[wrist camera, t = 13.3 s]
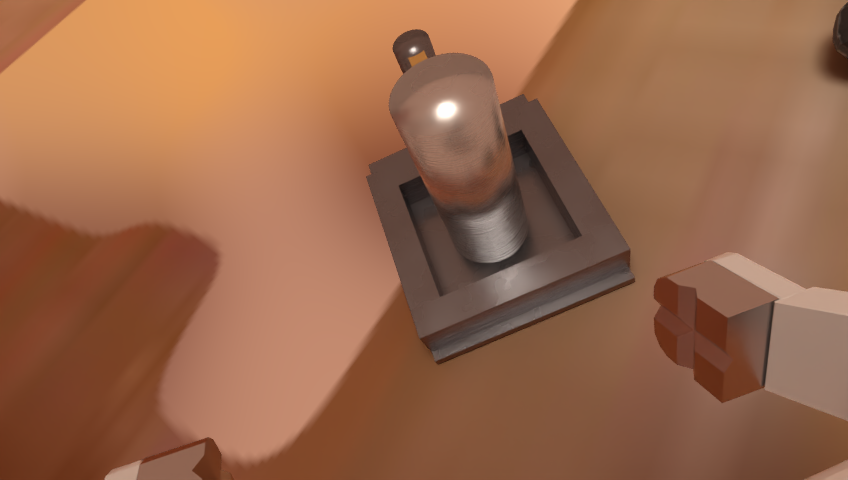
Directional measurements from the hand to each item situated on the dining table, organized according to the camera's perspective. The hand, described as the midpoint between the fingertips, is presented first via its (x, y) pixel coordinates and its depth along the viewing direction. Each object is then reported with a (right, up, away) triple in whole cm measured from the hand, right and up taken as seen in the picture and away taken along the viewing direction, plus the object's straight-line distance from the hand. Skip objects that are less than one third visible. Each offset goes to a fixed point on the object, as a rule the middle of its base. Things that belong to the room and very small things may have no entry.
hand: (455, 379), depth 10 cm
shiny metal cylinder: (+3, +3, +19) cm, 20 cm away
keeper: (+3, +3, +20) cm, 20 cm away
